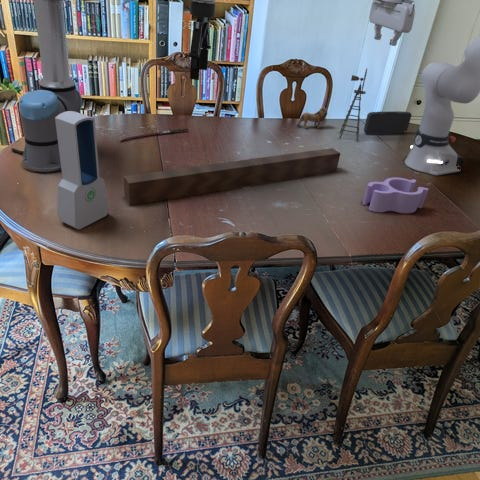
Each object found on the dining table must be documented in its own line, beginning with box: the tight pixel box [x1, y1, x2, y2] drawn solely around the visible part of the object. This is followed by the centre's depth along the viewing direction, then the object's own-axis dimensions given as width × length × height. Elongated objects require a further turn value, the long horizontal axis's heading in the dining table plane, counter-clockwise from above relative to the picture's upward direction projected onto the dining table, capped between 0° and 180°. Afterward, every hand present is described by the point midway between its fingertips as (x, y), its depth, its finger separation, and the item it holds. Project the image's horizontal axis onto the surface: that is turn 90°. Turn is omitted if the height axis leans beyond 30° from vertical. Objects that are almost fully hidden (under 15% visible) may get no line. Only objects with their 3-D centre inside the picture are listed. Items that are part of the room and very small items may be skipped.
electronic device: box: [55, 111, 110, 231], centre depth 124 cm, size 12×8×30 cm, turn 148°
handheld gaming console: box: [363, 110, 413, 135], centre depth 217 cm, size 23×3×10 cm, turn 108°
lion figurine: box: [296, 107, 328, 130], centre depth 215 cm, size 15×5×9 cm, turn 110°
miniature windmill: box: [339, 68, 368, 142], centre depth 203 cm, size 9×8×30 cm
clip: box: [362, 177, 429, 214], centre depth 156 cm, size 20×12×7 cm, turn 109°
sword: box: [120, 128, 189, 142], centre depth 190 cm, size 31×3×1 cm, turn 126°
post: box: [123, 147, 341, 206], centre depth 159 cm, size 80×5×8 cm, turn 119°
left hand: (198, 74), depth 151 cm, fingers open, 13 cm apart
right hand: (384, 42), depth 156 cm, fingers open, 8 cm apart
